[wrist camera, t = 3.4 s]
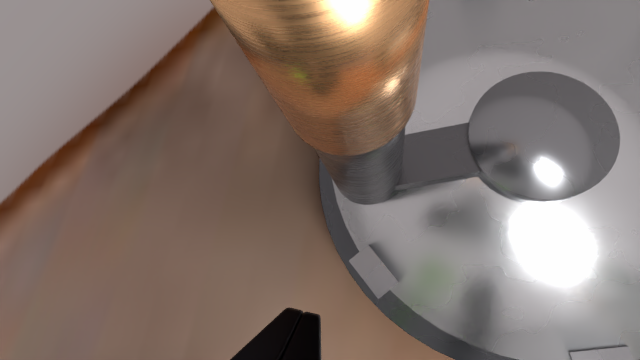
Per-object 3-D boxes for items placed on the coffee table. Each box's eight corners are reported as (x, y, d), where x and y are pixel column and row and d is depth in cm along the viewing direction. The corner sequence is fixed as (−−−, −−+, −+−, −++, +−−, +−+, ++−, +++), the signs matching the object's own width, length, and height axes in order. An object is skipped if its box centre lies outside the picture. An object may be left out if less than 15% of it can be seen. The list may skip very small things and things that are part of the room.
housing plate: (605, 470, 15) (628, 490, 13) (260, 225, 20) (250, 221, 19) (789, 108, 17) (825, 92, 15) (432, -26, 22) (435, -47, 21)
